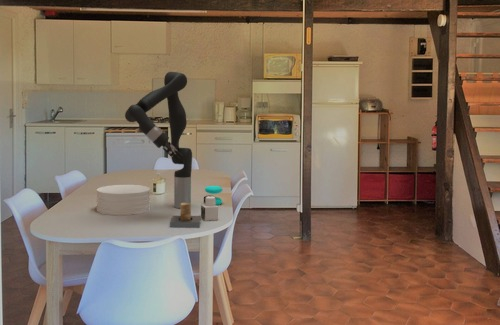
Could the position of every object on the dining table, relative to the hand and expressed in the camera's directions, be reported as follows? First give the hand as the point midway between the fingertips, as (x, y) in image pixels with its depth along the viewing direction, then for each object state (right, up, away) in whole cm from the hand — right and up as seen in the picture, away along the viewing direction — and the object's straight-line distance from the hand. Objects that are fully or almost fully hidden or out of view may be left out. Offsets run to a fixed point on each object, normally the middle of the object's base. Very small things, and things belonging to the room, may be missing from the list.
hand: (180, 159), depth 284 cm
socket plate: (+4, -32, -10) cm, 34 cm away
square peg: (+4, -32, -10) cm, 34 cm away
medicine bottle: (+15, -31, +1) cm, 34 cm away
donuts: (+14, -26, +40) cm, 50 cm away
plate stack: (-33, -28, +20) cm, 48 cm away
